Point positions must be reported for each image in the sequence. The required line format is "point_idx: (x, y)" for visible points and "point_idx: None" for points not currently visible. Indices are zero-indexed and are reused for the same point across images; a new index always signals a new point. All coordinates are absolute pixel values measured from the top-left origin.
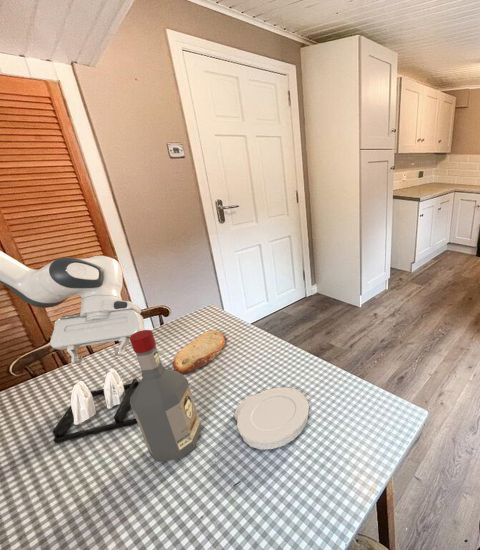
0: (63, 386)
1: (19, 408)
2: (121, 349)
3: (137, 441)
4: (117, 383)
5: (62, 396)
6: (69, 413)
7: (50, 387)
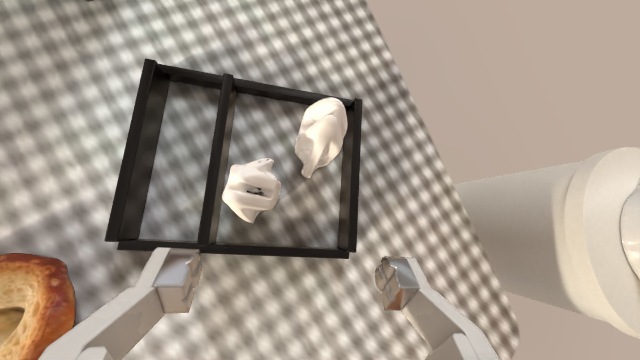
0: None
1: (473, 268)
2: (142, 277)
3: (180, 18)
4: (236, 190)
5: None
6: (351, 155)
7: None
